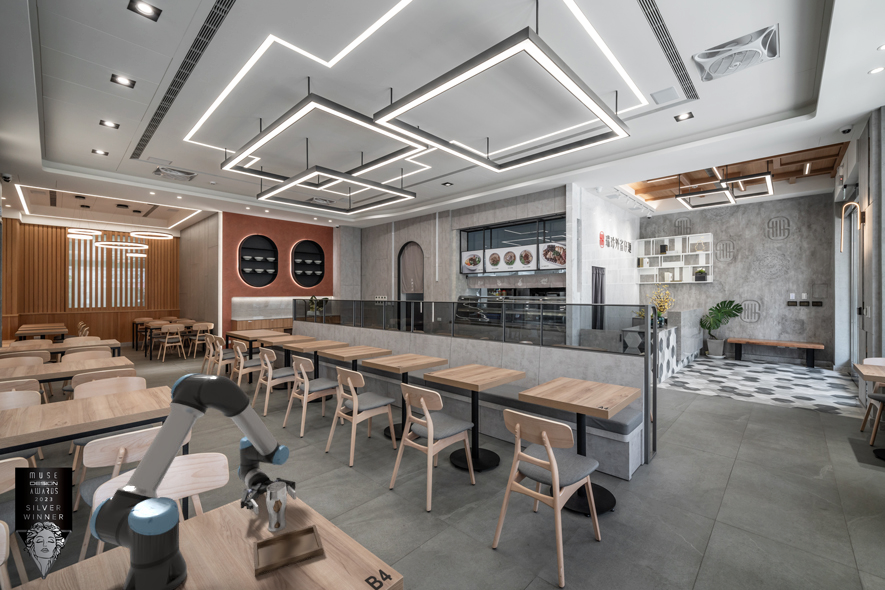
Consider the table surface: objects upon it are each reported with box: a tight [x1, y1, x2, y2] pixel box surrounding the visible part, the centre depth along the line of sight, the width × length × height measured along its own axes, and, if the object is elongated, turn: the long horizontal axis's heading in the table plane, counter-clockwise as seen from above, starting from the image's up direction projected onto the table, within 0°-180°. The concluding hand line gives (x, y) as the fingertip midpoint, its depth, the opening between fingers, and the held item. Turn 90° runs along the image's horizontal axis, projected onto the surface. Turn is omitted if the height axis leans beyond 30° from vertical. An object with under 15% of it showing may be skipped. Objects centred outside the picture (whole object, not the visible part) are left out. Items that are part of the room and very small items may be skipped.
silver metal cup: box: [265, 482, 288, 533], centre depth 140 cm, size 7×7×15 cm
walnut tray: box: [252, 524, 324, 577], centre depth 127 cm, size 20×14×2 cm
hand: (276, 502), depth 141 cm, fingers open, 13 cm apart
